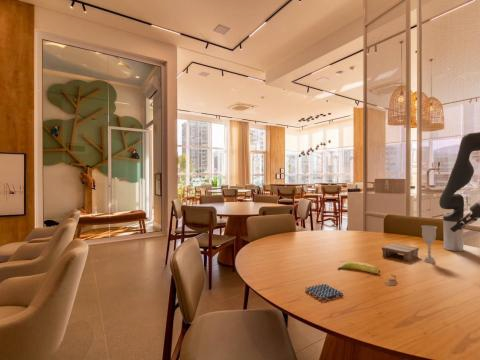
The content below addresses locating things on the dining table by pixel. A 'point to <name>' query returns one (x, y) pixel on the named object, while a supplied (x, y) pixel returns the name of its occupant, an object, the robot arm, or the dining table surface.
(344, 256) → the dining table surface
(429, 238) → the chalice
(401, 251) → the square lamp base
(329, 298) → the blue patterned piece
